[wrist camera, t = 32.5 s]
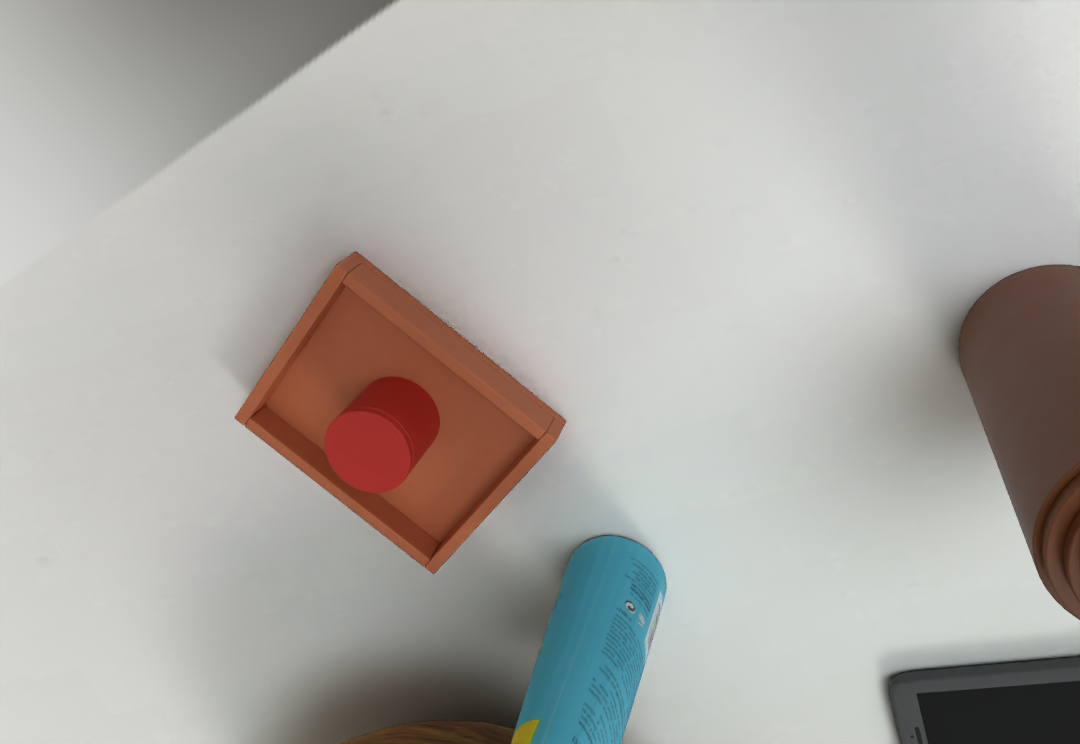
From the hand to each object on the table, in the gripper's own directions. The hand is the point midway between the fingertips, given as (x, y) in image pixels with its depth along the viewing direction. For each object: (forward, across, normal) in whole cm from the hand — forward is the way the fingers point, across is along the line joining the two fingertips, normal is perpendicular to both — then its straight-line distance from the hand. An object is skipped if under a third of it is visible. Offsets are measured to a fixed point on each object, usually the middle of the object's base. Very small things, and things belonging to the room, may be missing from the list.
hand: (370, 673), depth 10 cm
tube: (+31, -3, +22) cm, 38 cm away
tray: (+31, +9, +16) cm, 36 cm away
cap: (+30, +9, +17) cm, 36 cm away
